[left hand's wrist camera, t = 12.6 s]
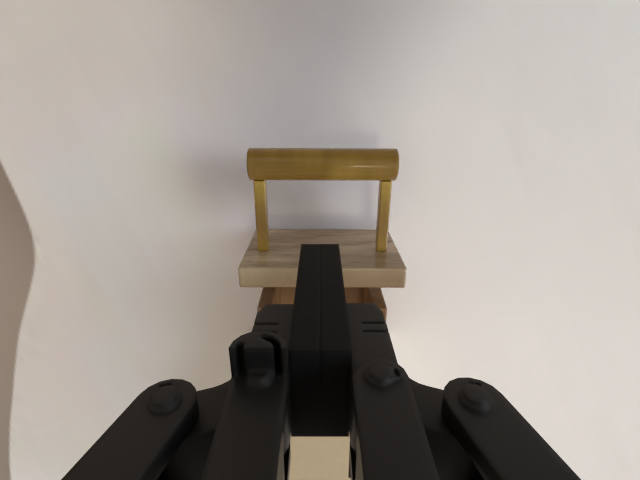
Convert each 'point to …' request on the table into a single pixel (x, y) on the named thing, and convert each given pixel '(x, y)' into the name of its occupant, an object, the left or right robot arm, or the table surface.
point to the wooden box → (319, 458)
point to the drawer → (355, 245)
